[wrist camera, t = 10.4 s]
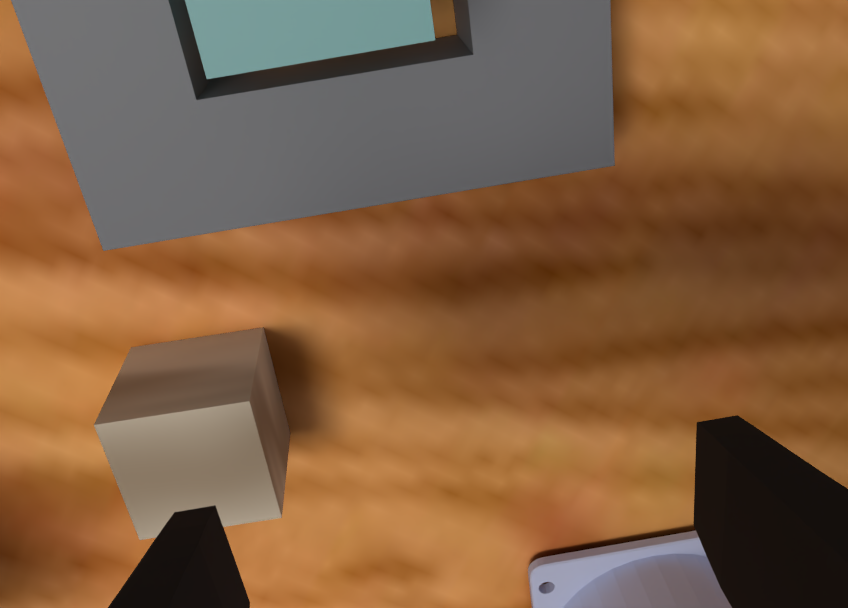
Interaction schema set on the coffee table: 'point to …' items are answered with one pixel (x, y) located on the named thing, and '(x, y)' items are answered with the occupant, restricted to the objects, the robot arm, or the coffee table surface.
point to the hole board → (315, 114)
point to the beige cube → (197, 430)
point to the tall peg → (301, 30)
